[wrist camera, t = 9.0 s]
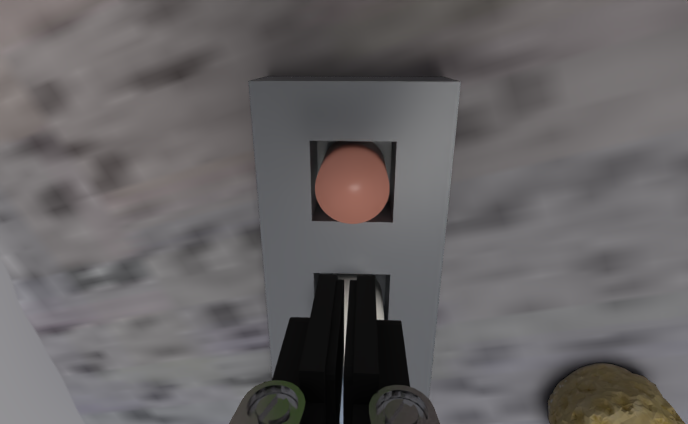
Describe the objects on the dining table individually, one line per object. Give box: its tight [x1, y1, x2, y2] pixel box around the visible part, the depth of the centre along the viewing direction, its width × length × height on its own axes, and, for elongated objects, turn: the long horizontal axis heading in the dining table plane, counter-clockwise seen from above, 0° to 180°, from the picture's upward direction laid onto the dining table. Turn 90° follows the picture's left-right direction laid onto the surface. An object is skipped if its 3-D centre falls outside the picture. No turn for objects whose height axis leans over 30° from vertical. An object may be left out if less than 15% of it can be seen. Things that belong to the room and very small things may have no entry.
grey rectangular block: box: [248, 76, 461, 399], centre depth 31 cm, size 30×12×5 cm, turn 0°
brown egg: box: [315, 141, 390, 224], centre depth 26 cm, size 4×4×5 cm
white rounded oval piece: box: [332, 273, 384, 356], centre depth 27 cm, size 4×4×5 cm
